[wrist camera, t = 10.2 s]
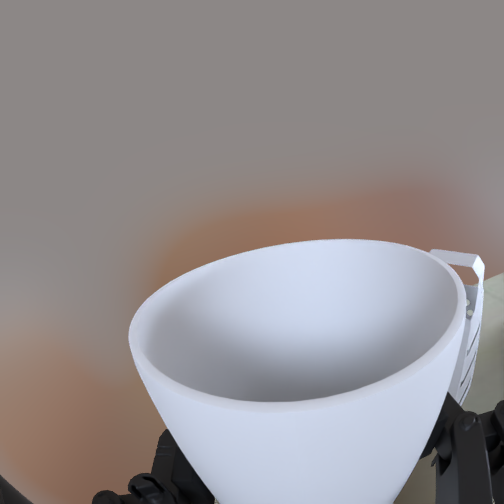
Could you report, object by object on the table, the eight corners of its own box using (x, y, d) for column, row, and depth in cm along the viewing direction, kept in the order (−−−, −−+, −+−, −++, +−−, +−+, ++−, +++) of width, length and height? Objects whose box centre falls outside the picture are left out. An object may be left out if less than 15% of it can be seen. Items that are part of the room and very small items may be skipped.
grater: (412, 368, 34) (423, 238, 29) (470, 387, 26) (500, 248, 21) (374, 412, 29) (385, 267, 24) (441, 441, 20) (490, 285, 15)
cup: (371, 457, 14) (394, 228, 10) (383, 553, 6) (545, 340, 2) (256, 467, 15) (192, 255, 11) (238, 562, 8) (54, 387, 4)
